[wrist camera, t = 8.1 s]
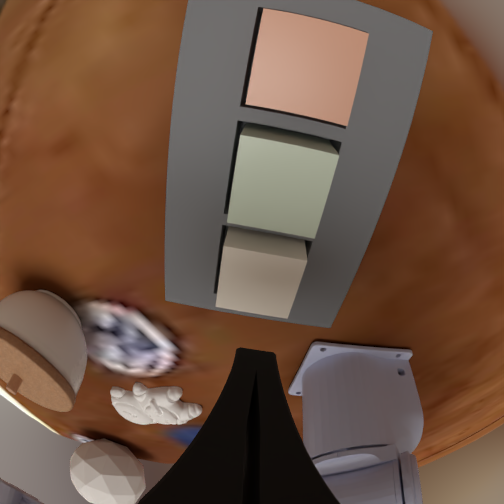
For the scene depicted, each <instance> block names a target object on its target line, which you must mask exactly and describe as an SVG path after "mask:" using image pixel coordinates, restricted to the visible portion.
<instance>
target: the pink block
mask: <svg viewBox="0 0 504 504" xmlns="http://www.w3.org/2000/svg"><path fill="white" fill-rule="evenodd" d="M368 36H369V33H366V32H363V31H360V30H356V29H353V28H350V27H347V26H343V25H340V24H336V23H332V22H329V21H325V20H321V19H317V18H312V17H308V16H304V15H299V14H294V13H289V12H283V11H278V10H272V9H265V8H263V13H262V18H261V23H260V28H259V33H258V38H257V44H256V49H255V54H254V60H253V65H252V70H251V76H250V82H249V87H248V93H247V99H246V104H247V105H253V106H259V107H265V108H270V109H275V110H280V111H285V112H290V113H295V114H300V115H304V116H309V117H313V118H317V119H321V120H325V121H329V122H333V123H337V124H341V125H344V126H347V125H348V121H349V118H350V114H351V110H352V106H353V102H354V98H355V94H356V89H357V85H358V81H359V77H360V72H361V68H362V64H363V59H364V55H365V50H366V45H367V41H368Z"/></svg>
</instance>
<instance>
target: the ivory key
mask: <svg viewBox="0 0 504 504" xmlns="http://www.w3.org/2000/svg"><path fill="white" fill-rule="evenodd" d="M306 264H307V254H306V247H305V240H303V239H298V238H293V237H287V236H282V235H276V234H271V233H266V232H260V231H255V230H249V229H243V228H238V227H232V226H229V228H228V231H227V235H226V239H225V242H224V246H223V253H222V261H221V268H220V276H219V283H218V291H217V299H216V307H220V308H225V309H231V310H236V311H242V312H248V313H254V314H260V315H266V316H273V317H279V318H286V319H288V316H289V313H290V310H291V308H292V305H293V302H294V299H295V296H296V293H297V290H298V287H299V284H300V282H301V279H302V276H303V273H304V270H305V267H306Z"/></svg>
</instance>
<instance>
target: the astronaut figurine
mask: <svg viewBox="0 0 504 504" xmlns="http://www.w3.org/2000/svg"><path fill="white" fill-rule="evenodd" d="M110 393H111V396H112V397H111V400H112V404H113V406H114V407H115V408H116V410H117V411H118V413H119V414H120V415H122V416H123V417H124V418H126V419H127V420H129V421H131V422H133V423H137V424H142V425H146V424H151V423H157V422H158V423H160V424H174V425H175V424H176V423H177V424H183V423H186V422H187V420H190V419H193V418H194V417H197V416H198V415H199V414H201V413H202V407H201V405H199V404H194V403H184V402H182V401H180V400H179V398H180V397H181V396H182V388H180V387H176V386H172V387H157V388H149V389H148V388H147V387H146V386H144V385H143V384H142V383H140V382H136V383H135V384H134V386H133V392H132V391H126V390H124V389H122V388H120V387H112V389H111V391H110Z"/></svg>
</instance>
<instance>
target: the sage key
mask: <svg viewBox="0 0 504 504" xmlns="http://www.w3.org/2000/svg"><path fill="white" fill-rule="evenodd" d="M338 159H339V154H338V153H337V151H336V150H335V148H334V147H333V145H332V144H331V143H330V141H329V140H327V139H323V138H319V137H314V136H310V135H306V134H301V133H296V132H292V131H287V130H282V129H277V128H272V127H266V126H261V125H255V124H249V123H246V125H245V127H244V129H243V131H242V133H241V135H240V140H239V146H238V152H237V159H236V165H235V171H234V178H233V184H232V191H231V197H230V204H229V211H228V218H227V223H232V224H238V225H243V226H249V227H255V228H260V229H266V230H271V231H276V232H282V233H287V234H293V235H298V236H303V237H308V238H314V239H315V236H316V233H317V230H318V226H319V223H320V220H321V217H322V213H323V210H324V207H325V204H326V200H327V197H328V193H329V190H330V187H331V183H332V180H333V176H334V173H335V169H336V166H337V162H338Z"/></svg>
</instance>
